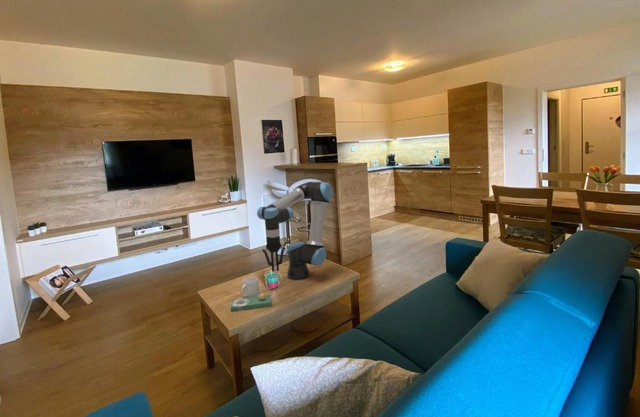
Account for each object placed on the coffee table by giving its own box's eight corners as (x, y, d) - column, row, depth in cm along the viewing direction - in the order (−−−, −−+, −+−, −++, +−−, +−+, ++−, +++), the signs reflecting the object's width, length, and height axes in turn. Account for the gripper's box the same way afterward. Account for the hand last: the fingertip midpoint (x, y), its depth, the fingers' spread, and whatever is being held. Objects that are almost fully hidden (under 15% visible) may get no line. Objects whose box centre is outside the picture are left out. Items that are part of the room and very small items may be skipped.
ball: (265, 297, 194) (264, 291, 193) (265, 300, 190) (264, 294, 189) (258, 298, 193) (258, 292, 192) (258, 301, 190) (258, 295, 189)
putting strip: (270, 298, 198) (270, 294, 197) (271, 306, 188) (271, 302, 188) (232, 303, 194) (232, 299, 194) (231, 311, 184) (230, 307, 184)
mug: (237, 299, 199) (235, 282, 197) (253, 292, 208) (252, 275, 206) (246, 303, 194) (244, 285, 191) (262, 295, 202) (261, 278, 200)
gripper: (284, 233, 191) (286, 272, 195) (260, 235, 188) (264, 275, 193) (285, 236, 183) (287, 277, 188) (261, 238, 181) (264, 280, 186)
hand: (275, 276), depth 190 cm, fingers closed
